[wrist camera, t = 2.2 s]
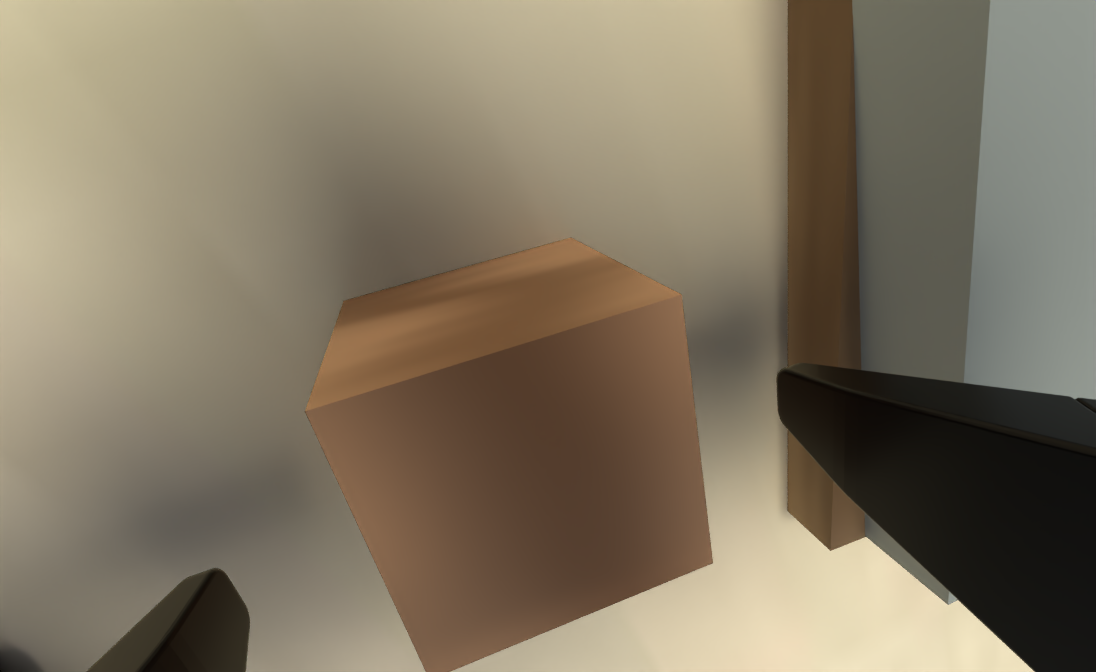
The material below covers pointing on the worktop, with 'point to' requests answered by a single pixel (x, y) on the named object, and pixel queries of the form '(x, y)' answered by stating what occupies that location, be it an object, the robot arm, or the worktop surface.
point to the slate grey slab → (976, 197)
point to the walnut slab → (822, 238)
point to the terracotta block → (515, 444)
